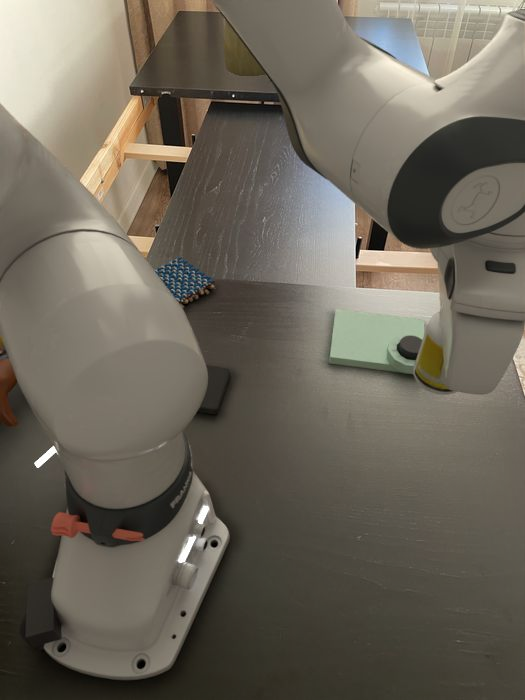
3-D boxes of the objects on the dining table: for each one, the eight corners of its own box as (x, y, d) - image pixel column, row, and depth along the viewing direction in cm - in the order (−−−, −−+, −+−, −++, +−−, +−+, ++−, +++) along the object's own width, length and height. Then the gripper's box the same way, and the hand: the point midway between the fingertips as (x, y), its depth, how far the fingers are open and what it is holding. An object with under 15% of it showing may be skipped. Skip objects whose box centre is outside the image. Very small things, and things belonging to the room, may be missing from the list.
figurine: (61, 431, 65) (156, 284, 86) (6, 373, 59) (121, 232, 80) (-44, 442, 74) (64, 308, 95) (-100, 394, 68) (28, 262, 89)
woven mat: (131, 289, 92) (129, 279, 90) (180, 263, 97) (178, 254, 96) (168, 317, 86) (167, 308, 85) (217, 289, 92) (217, 279, 90)
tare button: (423, 361, 76) (426, 354, 75) (398, 358, 77) (400, 351, 76) (422, 344, 79) (425, 336, 78) (398, 341, 79) (400, 333, 78)
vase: (213, 78, 165) (207, -27, 146) (249, 64, 174) (248, -36, 155) (255, 92, 157) (255, -18, 138) (291, 76, 167) (295, -28, 147)
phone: (216, 409, 72) (111, 391, 74) (216, 415, 72) (113, 397, 75) (230, 368, 77) (132, 352, 79) (231, 374, 78) (134, 358, 80)
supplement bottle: (465, 400, 55) (496, 331, 48) (411, 391, 55) (434, 321, 48) (463, 363, 58) (491, 293, 51) (412, 355, 59) (433, 285, 52)
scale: (430, 382, 77) (435, 368, 75) (328, 369, 79) (330, 355, 77) (426, 326, 85) (431, 312, 83) (334, 315, 87) (336, 301, 85)
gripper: (443, 175, 52) (414, 286, 62) (456, 309, 38) (415, 427, 48) (511, 181, 51) (470, 293, 61) (549, 321, 37) (488, 438, 47)
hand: (446, 353), depth 54 cm, fingers closed on supplement bottle, 5 cm apart
